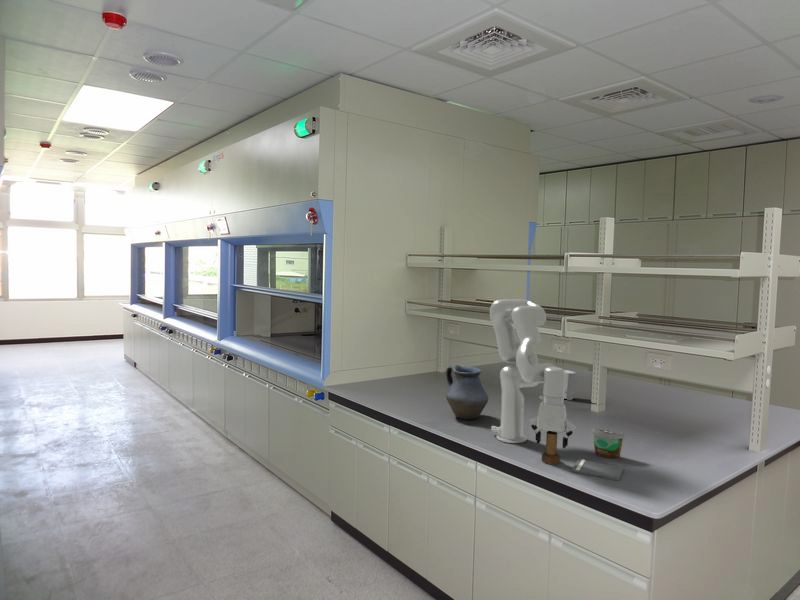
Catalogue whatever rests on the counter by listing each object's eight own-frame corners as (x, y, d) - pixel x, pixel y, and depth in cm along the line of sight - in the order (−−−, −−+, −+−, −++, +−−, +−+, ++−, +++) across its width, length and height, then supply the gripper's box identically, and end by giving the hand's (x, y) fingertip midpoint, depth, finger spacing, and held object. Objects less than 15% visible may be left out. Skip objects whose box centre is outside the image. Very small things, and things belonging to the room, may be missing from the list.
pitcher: (476, 425, 248) (478, 372, 247) (434, 417, 260) (436, 366, 258) (493, 416, 265) (495, 365, 264) (454, 408, 277) (455, 360, 276)
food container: (587, 454, 212) (588, 429, 212) (591, 450, 217) (592, 426, 217) (620, 461, 205) (621, 436, 205) (623, 457, 210) (625, 432, 210)
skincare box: (556, 397, 308) (557, 370, 307) (566, 396, 311) (567, 369, 310) (566, 401, 300) (567, 372, 299) (576, 400, 303) (577, 372, 302)
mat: (571, 471, 194) (571, 468, 194) (578, 461, 205) (578, 458, 205) (619, 480, 186) (619, 477, 186) (623, 469, 197) (623, 467, 197)
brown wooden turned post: (558, 465, 200) (560, 417, 199) (540, 462, 202) (542, 415, 201) (560, 459, 206) (562, 413, 205) (542, 457, 208) (544, 411, 207)
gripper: (527, 399, 203) (525, 443, 204) (574, 405, 195) (572, 452, 196) (533, 395, 210) (531, 438, 211) (578, 401, 202) (576, 446, 203)
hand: (551, 444), depth 204 cm, fingers open, 9 cm apart
